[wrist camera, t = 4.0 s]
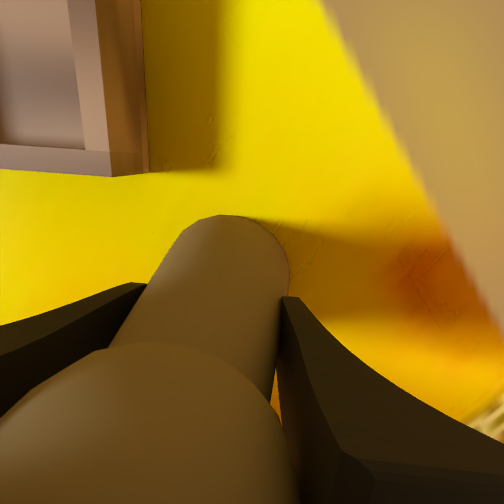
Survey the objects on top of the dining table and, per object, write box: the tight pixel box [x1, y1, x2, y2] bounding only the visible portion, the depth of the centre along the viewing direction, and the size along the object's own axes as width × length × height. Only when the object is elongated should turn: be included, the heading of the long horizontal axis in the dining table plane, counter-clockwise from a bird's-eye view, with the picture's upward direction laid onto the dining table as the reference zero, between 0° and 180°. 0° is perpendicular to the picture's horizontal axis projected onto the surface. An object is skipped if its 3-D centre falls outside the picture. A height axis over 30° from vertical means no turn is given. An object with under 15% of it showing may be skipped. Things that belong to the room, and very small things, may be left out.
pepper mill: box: [0, 215, 301, 504], centre depth 8 cm, size 6×6×11 cm
